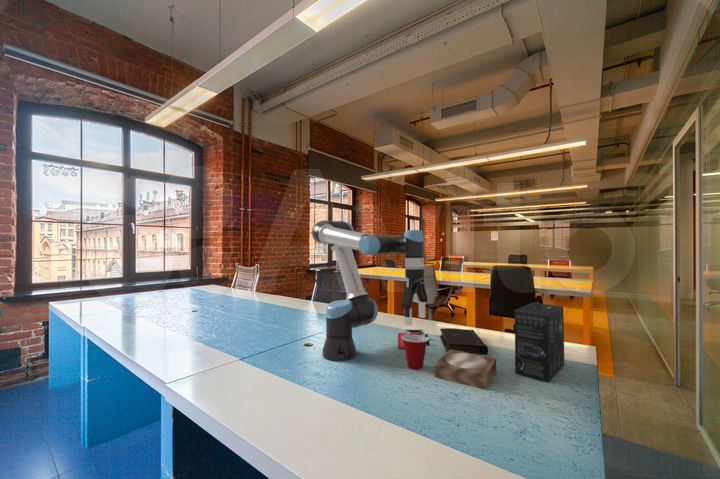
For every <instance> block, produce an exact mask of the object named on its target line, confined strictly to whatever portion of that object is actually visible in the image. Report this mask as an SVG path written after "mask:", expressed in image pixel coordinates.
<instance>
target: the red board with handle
mask: <svg viewBox="0 0 720 479" xmlns="http://www.w3.org/2000/svg"><path fill="white" fill-rule="evenodd" d="M420 334H423V330H422V329H406V332H398V333H397V345H398V346H397V348H398V350H405V347H404V342H403V339H402V336H404V335H420ZM424 336H425V337H427V338H429V336H428V333H425V334H424ZM426 346H428V347H429V346H430V339H429V340H428V342H427V345H426Z"/></svg>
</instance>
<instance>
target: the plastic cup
mask: <svg viewBox="0 0 720 479" xmlns="http://www.w3.org/2000/svg"><path fill="white" fill-rule="evenodd" d="M402 339H403V342H404V347H405V349H404V351H405V358H406V363H407V367H408V368H409V369H411V370H414V369H415V370H421V369H423V366H424V361H425V356H426V349H427V346H428V345H427V342H428V340H429V341H430V339H429V337H428V338H427V337H425V335H420V334H419V335H404V336H402Z"/></svg>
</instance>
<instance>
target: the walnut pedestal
mask: <svg viewBox="0 0 720 479" xmlns="http://www.w3.org/2000/svg"><path fill="white" fill-rule="evenodd" d="M496 373H497V358H496V357H494V356H493V357H492V356H487V355H484V354H473V353H467V352H462V351H457V350H452V349H450V350H449V351H448V352H445V353H444V355H442V356H441V357H440V358H439V359H438V360H437V361H436V362H434V378H436V379H441V380H445V381H450V382H453V383H457V384H461V385H466V386H469V387H473V388H478V389H481V390H488V387H489V386H490V384H491V382H492V380H493V379H494V376H495V375H496Z"/></svg>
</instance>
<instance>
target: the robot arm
mask: <svg viewBox="0 0 720 479" xmlns="http://www.w3.org/2000/svg"><path fill="white" fill-rule="evenodd" d="M311 236H312V238H313V240H314V241H315V242H317V243H319V244H323V245H328V244H329V247H330V250H332V251H333V252H334V253H335V257H336V259H337V260H336V261H337V263H338V264H337V265H338V267H339V271H340V273H341V279H342V281H343V285H344V288H345V293H346V295H347V296H346V299H340V300H334V301H332V302H329V303H328V304H327V305H326V308H325V323H326V324H325V327H326V328H325V330H326V331H325V332H326V336H325V337H326V338H325V341H324V344H323V348H322V358H323V359H326V360H329V361H335V362H336V361H337V362H338V361H347V360H351V359H353V358H355V357H356V356H357V347H356V345H355V341H354V339H353V329H354V328H358V327H361V326H367V325H369V324H372V323H374V321H375V320H376V319H377V317H378V313H379V308H378V304H377V302H376V301H375V300H374V299H373V298H371V297H370V295H369V293H368V292H366V291H365V289H364V286H363V282H362V279H361V275H360V272H359V268H358V265H357V263H356V259H355V255H354V253H353V250H354V251H355V250H356V251H359V252H361V253H362V254H363V255H366V256H367V255H368V256H373V255H386V254H387V255H388V254H391V255H392V254H404V267H405V269H404V274H405V275H404V276H405V278H406V279H408V281H404V289H403V294H402V300H401V308H403V309H404V310H403V311H404V312H403V313H404V325H405V326H413V315H412V314H413V311H412V310H413V308H412V304H413V299H414V296H415V295H417V297H418V298H417V299H418V300H419V301H418V318H422V319H425V318H426V303H427V302H428V294H427V289H426V285H425V279H424V278H425V269H424V268H425V264H424V263H425V259H424V258H425V256H424V248H425V247H424V246H425V245H424V243H425V240H424V232H423V231H422V230H420V229H409V230H408V229H407V230H405V231H404V234H403V235H374V234H368V233H365V232H359V231H355V229H354V227H353V225H352V224H351V223H350V222H348V221H344V220H325V219H324V220H320V221H318V222H316V223H314V225H313V226H312V228H311Z"/></svg>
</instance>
